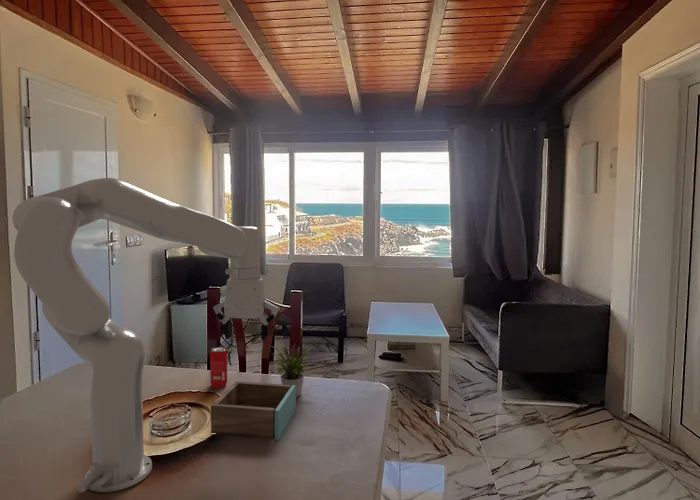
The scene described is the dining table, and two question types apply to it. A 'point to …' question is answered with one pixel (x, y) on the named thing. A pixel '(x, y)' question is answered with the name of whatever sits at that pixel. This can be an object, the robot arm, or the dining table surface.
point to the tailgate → (285, 412)
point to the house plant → (292, 370)
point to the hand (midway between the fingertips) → (246, 338)
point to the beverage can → (218, 367)
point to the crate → (247, 410)
